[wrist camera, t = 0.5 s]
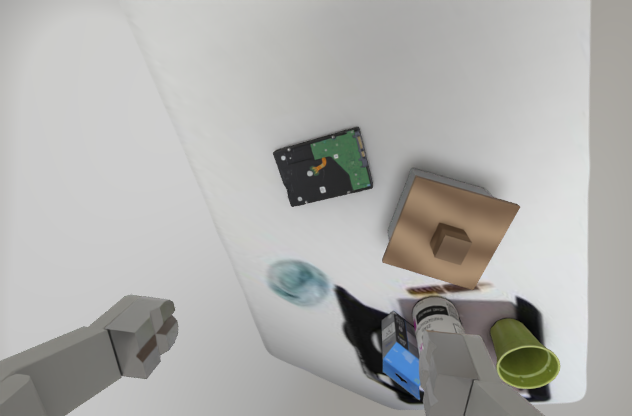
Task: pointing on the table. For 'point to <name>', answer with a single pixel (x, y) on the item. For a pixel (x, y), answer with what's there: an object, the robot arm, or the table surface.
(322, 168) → the disk drive
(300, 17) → the table surface
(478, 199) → the lid
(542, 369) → the plant pot
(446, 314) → the supplement can
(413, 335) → the label tape cartridge
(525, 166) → the table surface
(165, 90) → the table surface
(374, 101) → the table surface
